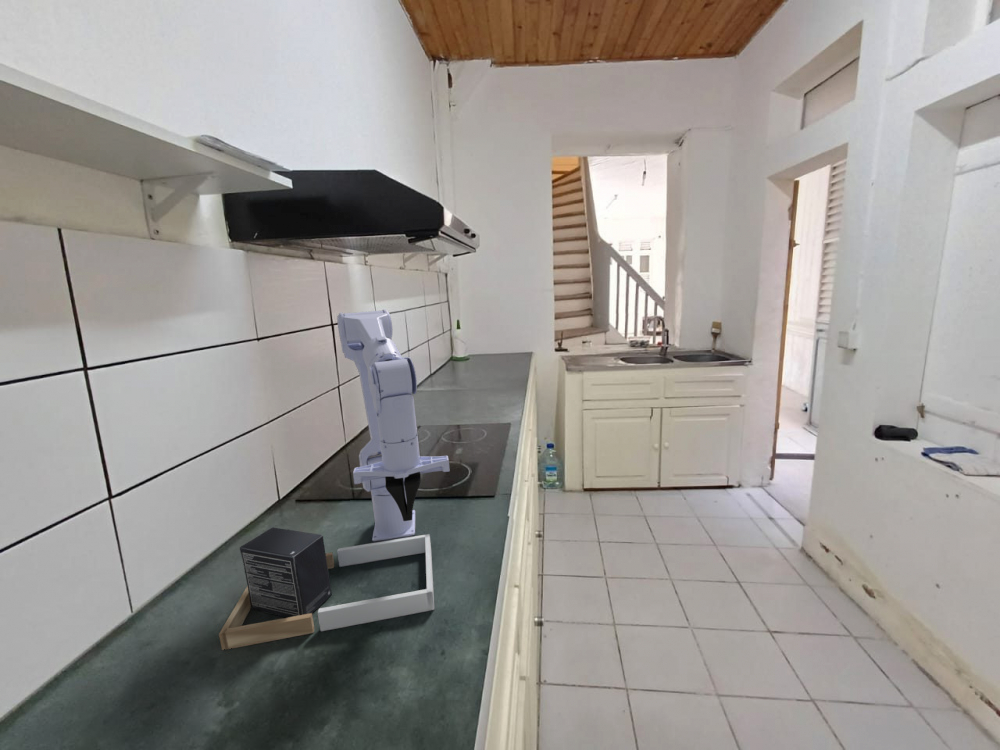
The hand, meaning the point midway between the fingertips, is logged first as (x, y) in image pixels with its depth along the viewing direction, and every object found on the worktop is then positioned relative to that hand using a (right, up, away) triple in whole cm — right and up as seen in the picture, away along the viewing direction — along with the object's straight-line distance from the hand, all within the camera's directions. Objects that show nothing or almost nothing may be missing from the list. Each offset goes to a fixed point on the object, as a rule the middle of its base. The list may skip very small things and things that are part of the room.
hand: (408, 517), depth 68 cm
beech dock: (-18, -12, -2) cm, 22 cm away
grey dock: (-4, -11, 0) cm, 12 cm away
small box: (-17, -12, -2) cm, 21 cm away
